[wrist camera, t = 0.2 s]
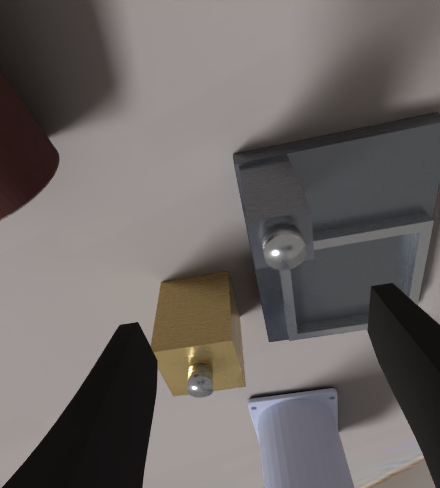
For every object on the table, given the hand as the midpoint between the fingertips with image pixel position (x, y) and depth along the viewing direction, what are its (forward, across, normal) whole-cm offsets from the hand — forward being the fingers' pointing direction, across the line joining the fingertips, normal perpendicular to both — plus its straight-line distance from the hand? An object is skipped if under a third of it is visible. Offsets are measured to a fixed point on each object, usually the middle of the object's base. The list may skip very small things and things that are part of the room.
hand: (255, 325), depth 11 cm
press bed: (+10, -5, +5) cm, 12 cm away
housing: (+10, +4, +8) cm, 14 cm away
